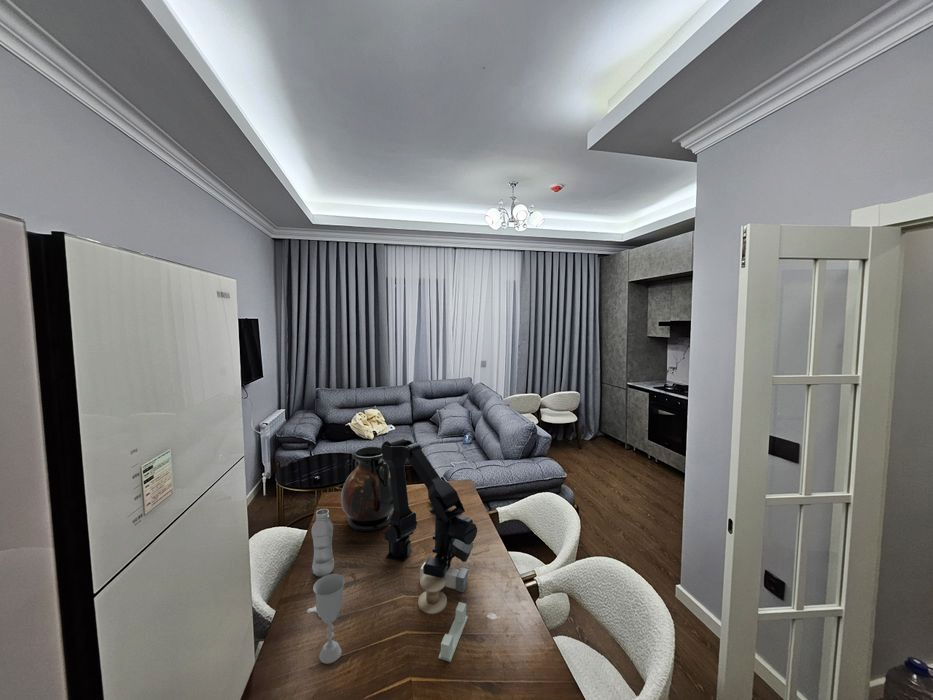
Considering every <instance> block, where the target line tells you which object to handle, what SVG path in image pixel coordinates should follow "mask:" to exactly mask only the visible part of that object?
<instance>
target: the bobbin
mask: <svg viewBox="0 0 933 700" xmlns="http://www.w3.org/2000/svg"><path fill="white" fill-rule="evenodd" d="M419 580H420V582H419V583H420V584H419V585H420V588H421V589H422V590H424V591H423V592H422V593H421V594H420V595H419V597H418V601H417V602H418V604H417V605H418V608H419V610H421V612H423V613H425V614H428V615H434V614H439V613H441V612H443V611H444V610H445V608H446V607H447V605H448V604H447V603H448V602H447V601H448V599H447V595H446V594H445V593H444V592H443V591H442V589H444V587H445V577H443V578H439V577H435V576H430V575H426V574H424V575H423V576H422V577H421V579H419Z"/></svg>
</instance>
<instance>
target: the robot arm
mask: <svg viewBox="0 0 933 700" xmlns="http://www.w3.org/2000/svg"><path fill="white" fill-rule="evenodd" d="M380 447H381V451H382V455H383V458H382V459H383V462H385V463H386V464H387V465H388V467H389V471H390V480H391V489H392V499H393V508H394V509H393V511H392V512H391V515H392V516H391V518H390V522H389V528H388V529H386V531H384V533H383V536H384V540H385V541H387V542H388V553H387V554H386V558H387V559H390V560H391V559H392V560H396V561H400V562H405V560H406V559H407V557H408V556H409V555H410V553H411V552H412V550H413V549H412V548H411V547H412V541H411V539H410V536H412V535H413V534H414V533H415V531H416V529H417V525H418V522H417V513H416V512H415V511H412V510H411V508H410V505H409V497H408V496H409V495H408V489H407V478H406V470H405V463H406V461H407V460H408V462H409V463H410V464H411V466H412V468H413V469H414V471H415V472H416V473H417V475H418V477H419V478H420V480H421V481H422V482H423V484H424V486H425V487H426V489H427V495H428V500H429V502H430V504H431V505H432V509H430V511H429V513H430V514H432V515H433V516H435V517H434V520H435V521H434V534H433V535H432V540H433V541H434V546H433V548H432V553H434V554H436V555H434V557H431V556H430V557H429V558H427V560H426V561H425V562H426V563H425V565H424V566H423V573H424V574H426V575H430V576H435V577H439V578H443V577H445V574H446V572H447V570H448V569H449V568H451V564H452V560H453V559H454V558H456V559H459V560H460V561H461V562H463V563H466V562H467V561H468V559H469V557H470V556H471V552H472V551H473V547H474V543H473V542H474V541H475V539H476V536H477V533H478V527H477V525H476V524H475V523H474V520H473V519H472V518H470V517H467V516H464V515H463V514H464V513H465V512H466V510H465V508H464V506H463V505H464V504H463V503H462V502H461V499H460V496H459V494H458V492H457V491H456V489H455V488H454V487H453V485H451V484H450V483H449V482H448V481H446V480H444V479H442V477H440V475H439V473H438V471H436V469H435V468H434V467H433V465H432V463H431V462H430V460H429V459H428V457H426V455H425V453H424V452H423V450H422V447H421V444H419V443H418V442H413V441H412V440H411V439H410V440H409V439H404V437H402V436H398V437H395V438H393V439H392V438H391V439H389V440H386V441H384V442H383V443H382V444H381V446H380ZM453 507H454V508H453ZM451 508H453V509H452V510H450V509H451Z"/></svg>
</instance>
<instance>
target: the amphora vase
mask: <svg viewBox="0 0 933 700" xmlns="http://www.w3.org/2000/svg"><path fill="white" fill-rule="evenodd" d="M381 447H382V446H365V447H360V448H358V449H355V450H354V451H353V452H352V454H351V456H352V458H351V472H350V474H349V475H348V476H347V477H346V480H345V481H344V483H343V486H342V488H341V492H340V493H341V494H340V503H341V505H340V506H341V508H342V511H343V512H344V513H345V515H346V516H347V517H348V518H347V522H348V525H349V526H350V528H352V529H354V530H355V531H356V530H357V531H360V532H371V531H372V532H373V531H377V530H380V529H382V528H384V527H386V526H387V525H389V524H390V518H391V516H392V513H393V510H394V508H393V499H392V489H391V480H390V471H389V466H388V465H387V464H386V462H385V461H382V459H383V455H382V451H381ZM357 463H358V464H357Z"/></svg>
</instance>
